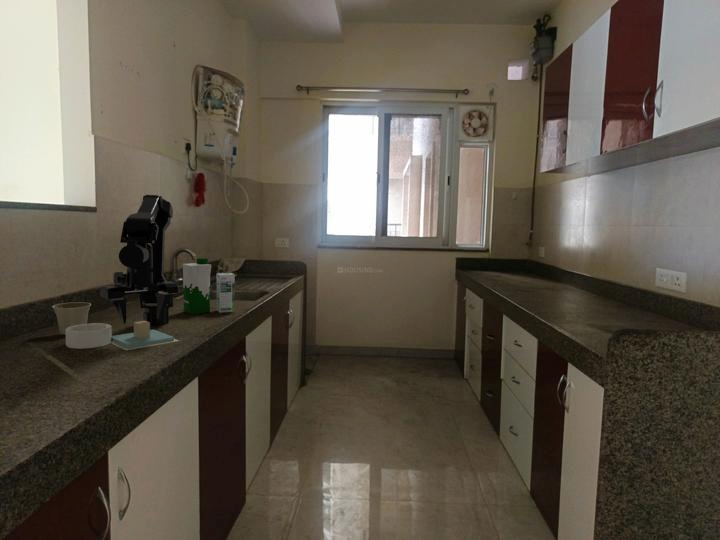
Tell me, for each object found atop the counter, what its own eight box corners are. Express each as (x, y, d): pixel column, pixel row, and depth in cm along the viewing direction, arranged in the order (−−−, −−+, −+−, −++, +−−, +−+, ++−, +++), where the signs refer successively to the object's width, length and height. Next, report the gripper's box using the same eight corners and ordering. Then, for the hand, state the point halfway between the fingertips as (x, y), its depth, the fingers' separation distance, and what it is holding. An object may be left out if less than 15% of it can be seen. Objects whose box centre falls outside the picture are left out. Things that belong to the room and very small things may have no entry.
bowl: (102, 339, 125) (102, 321, 124) (117, 346, 118) (116, 327, 118) (61, 345, 117) (60, 327, 117) (74, 353, 111) (73, 333, 110)
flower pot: (73, 339, 124) (72, 309, 123) (44, 337, 125) (43, 306, 125) (99, 332, 133) (99, 303, 132) (72, 329, 135) (71, 301, 134)
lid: (153, 332, 131) (153, 316, 130) (173, 340, 123) (173, 322, 122) (109, 339, 122) (109, 321, 121) (128, 348, 114) (128, 329, 113)
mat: (155, 334, 132) (155, 331, 132) (179, 343, 123) (179, 340, 123) (104, 342, 122) (104, 339, 122) (126, 353, 113) (125, 350, 112)
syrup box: (219, 313, 166) (219, 274, 165) (216, 310, 172) (216, 272, 170) (234, 312, 169) (235, 273, 168) (231, 309, 174) (231, 272, 173)
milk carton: (213, 312, 167) (213, 259, 165) (189, 315, 160) (189, 259, 159) (203, 308, 173) (203, 257, 171) (180, 311, 167) (179, 258, 165)
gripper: (161, 260, 133) (161, 312, 134) (91, 263, 118) (93, 321, 120) (179, 263, 125) (180, 318, 127) (108, 266, 111) (109, 328, 113)
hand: (141, 321), depth 122 cm, fingers open, 9 cm apart
